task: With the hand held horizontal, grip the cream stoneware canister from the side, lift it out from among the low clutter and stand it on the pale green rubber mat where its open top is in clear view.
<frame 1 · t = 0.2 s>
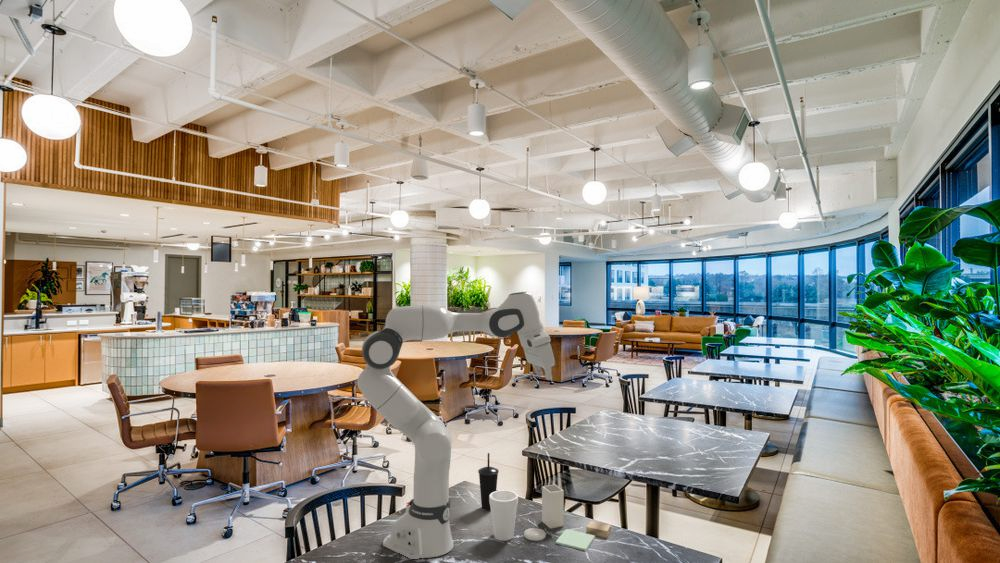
hand: (544, 377, 167), 52 cm above the table, tool tilted 20°, fingers open, 8 cm apart
foam cup: (503, 536, 164), on the table
oak block: (598, 533, 166), on the table
drinking cup: (488, 508, 186), on the table
mat: (575, 540, 161), on the table
canister: (552, 523, 173), on the table
white pebble stone: (534, 536, 164), on the table
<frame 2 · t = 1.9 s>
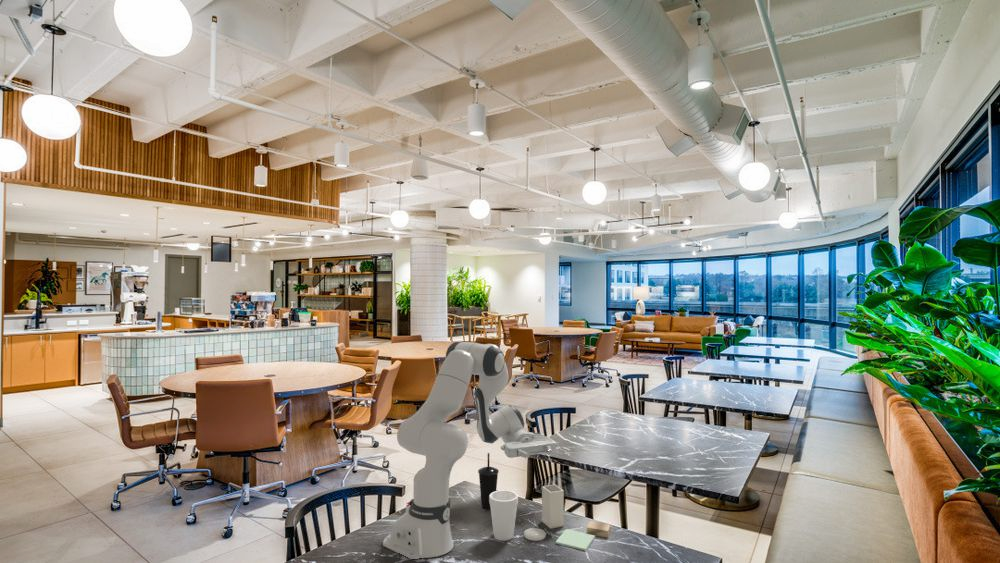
hand: (539, 454, 184), 21 cm above the table, tool horizontal, fingers open, 8 cm apart
nothing on the table moved.
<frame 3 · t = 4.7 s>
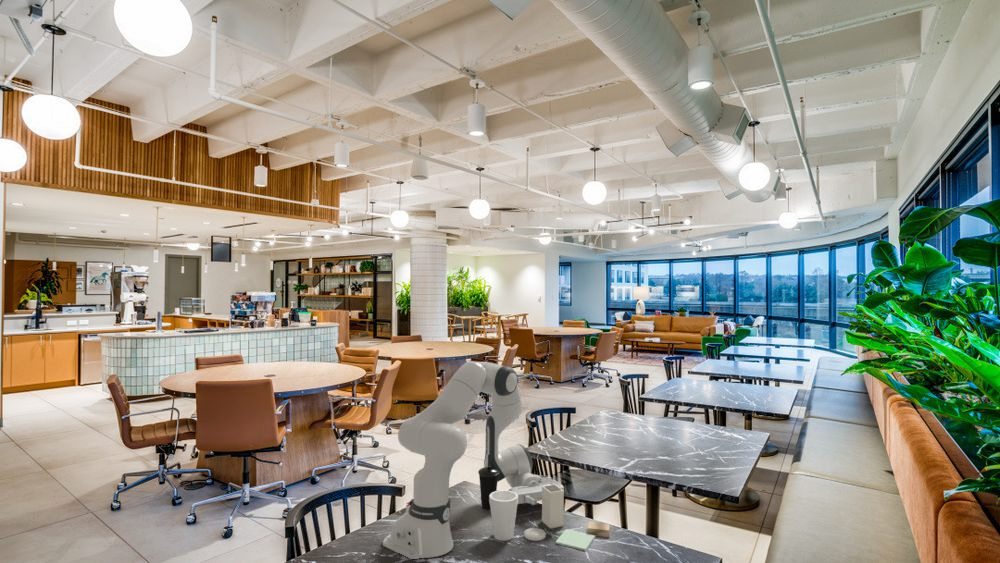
hand: (547, 500, 177), 6 cm above the table, tool horizontal, fingers open, 8 cm apart
drinking cup: (488, 507, 186), on the table, touching arm
everything else where it was.
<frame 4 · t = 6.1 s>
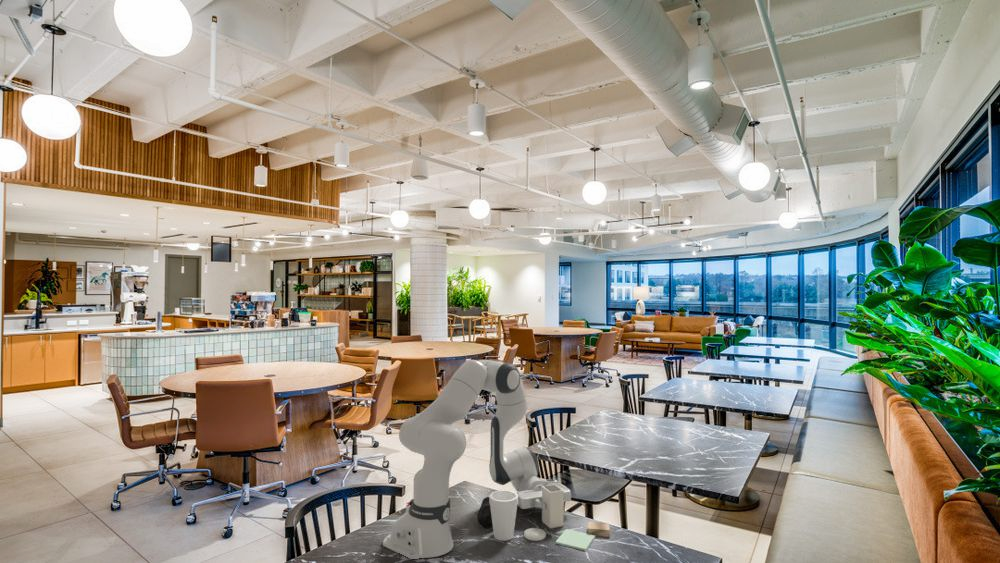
hand: (553, 505, 172), 7 cm above the table, tool horizontal, fingers closed on canister, 5 cm apart
drinking cup: (488, 503, 183), point 2 cm above the table
canister: (552, 523, 173), on the table, touching gripper
everything else where it was.
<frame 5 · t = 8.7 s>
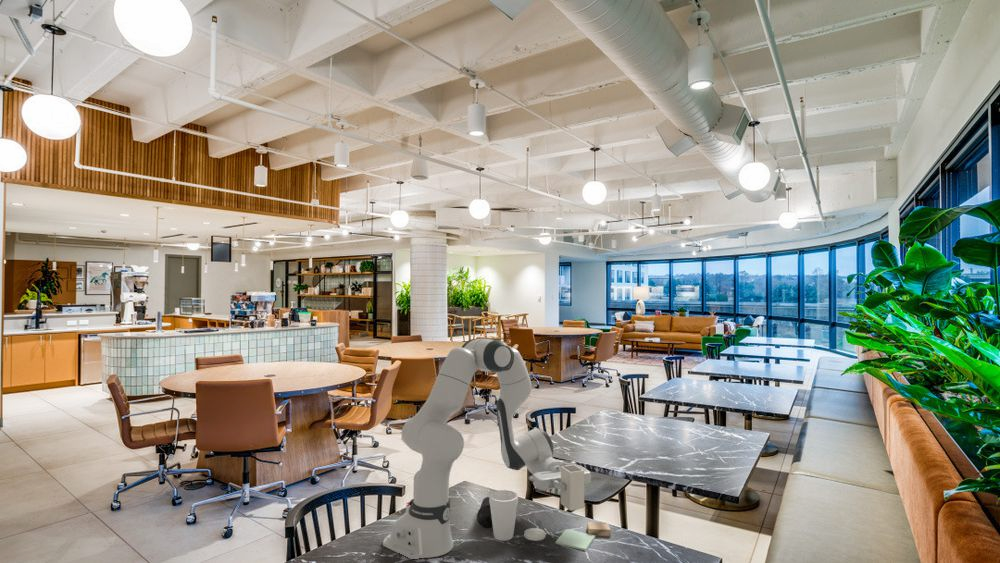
hand: (573, 486, 162), 17 cm above the table, tool horizontal, fingers closed on canister, 5 cm apart
canister: (572, 505, 163), point 10 cm above the table, touching gripper
everything else where it was.
when the fingers open (8 cm above the table, at t = 11.0 s): canister stays where it is, resting on mat.
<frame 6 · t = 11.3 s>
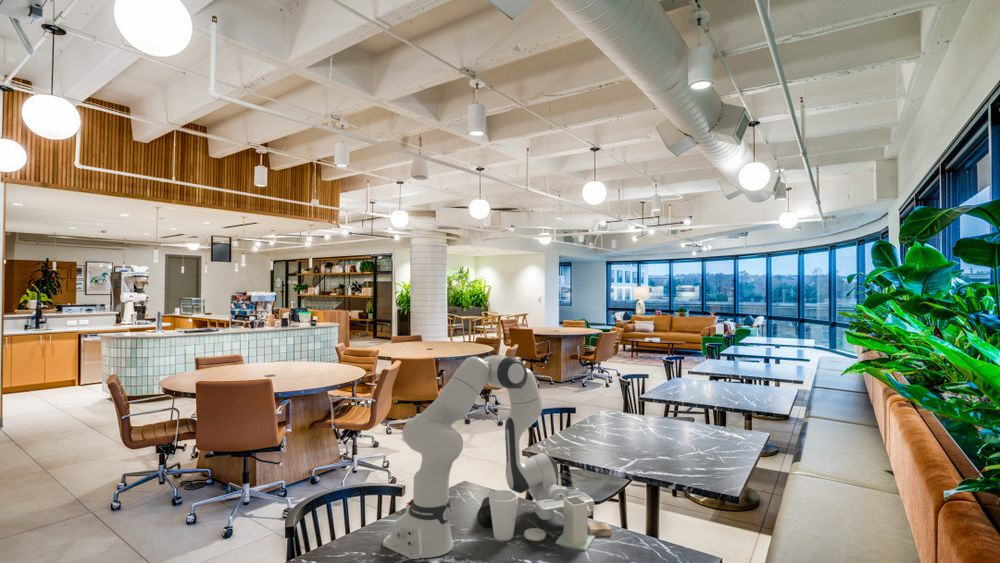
hand: (577, 516, 160), 8 cm above the table, tool horizontal, fingers open, 8 cm apart
foam cup: (503, 536, 164), on the table, touching drinking cup
drinking cup: (488, 503, 183), point 2 cm above the table, touching foam cup
canister: (575, 538, 161), point 1 cm above the table, touching mat
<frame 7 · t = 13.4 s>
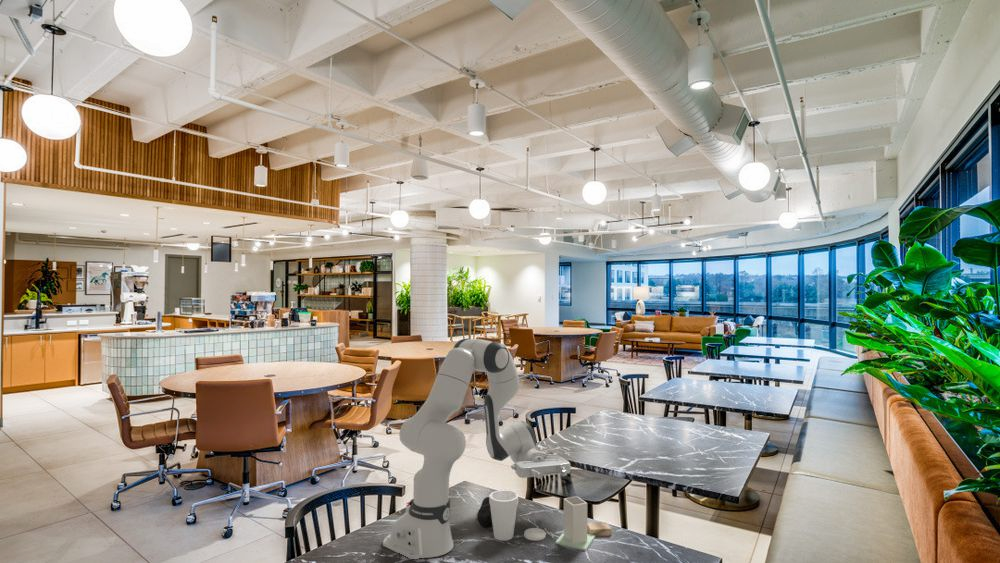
hand: (553, 474, 171), 18 cm above the table, tool horizontal, fingers open, 8 cm apart
foam cup: (503, 536, 164), on the table
drinking cup: (488, 503, 183), point 2 cm above the table
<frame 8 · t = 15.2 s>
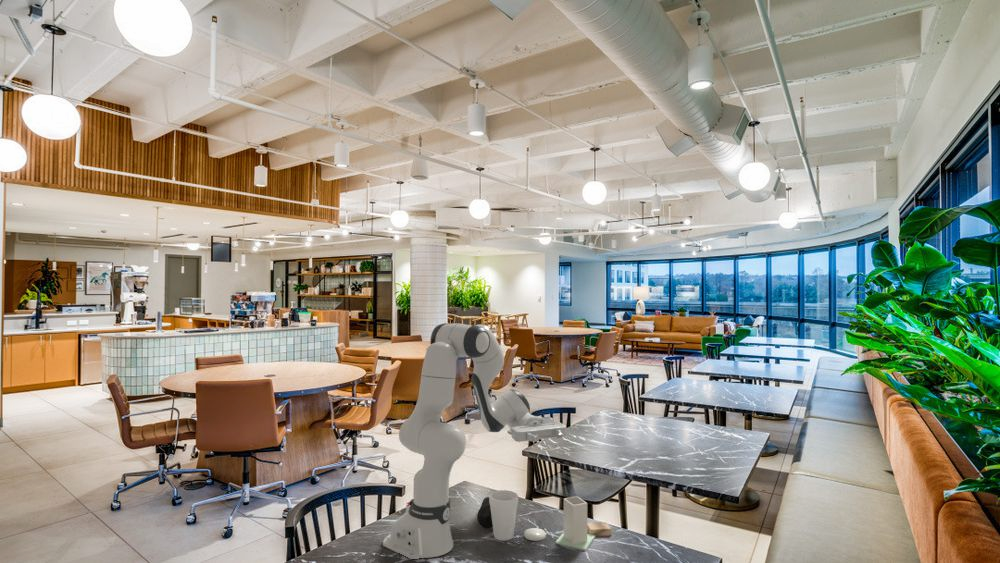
hand: (549, 437, 172), 30 cm above the table, tool horizontal, fingers open, 8 cm apart
nothing on the table moved.
at the end: canister inside the target area on the mat (0.1 cm from its centre), point 0.6 cm above the mat's base; canister tilted 0°; the gripper is holding nothing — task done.
